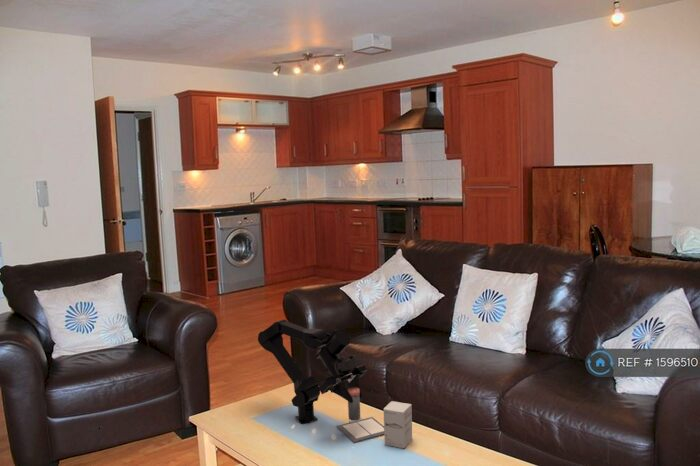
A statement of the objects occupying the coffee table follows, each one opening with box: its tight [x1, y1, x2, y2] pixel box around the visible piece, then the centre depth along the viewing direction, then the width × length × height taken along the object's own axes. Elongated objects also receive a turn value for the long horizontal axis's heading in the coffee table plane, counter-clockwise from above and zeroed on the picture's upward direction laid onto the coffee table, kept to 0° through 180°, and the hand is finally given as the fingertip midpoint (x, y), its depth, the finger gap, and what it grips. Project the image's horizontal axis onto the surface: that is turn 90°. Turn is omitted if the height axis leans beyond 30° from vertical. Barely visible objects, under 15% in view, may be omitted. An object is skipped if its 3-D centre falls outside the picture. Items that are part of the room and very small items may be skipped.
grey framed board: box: [336, 416, 384, 444], centre depth 206 cm, size 14×14×1 cm
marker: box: [346, 387, 361, 421], centre depth 200 cm, size 4×4×10 cm
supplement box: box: [383, 400, 413, 449], centre depth 196 cm, size 7×7×13 cm
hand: (356, 400), depth 199 cm, fingers closed on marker, 4 cm apart
